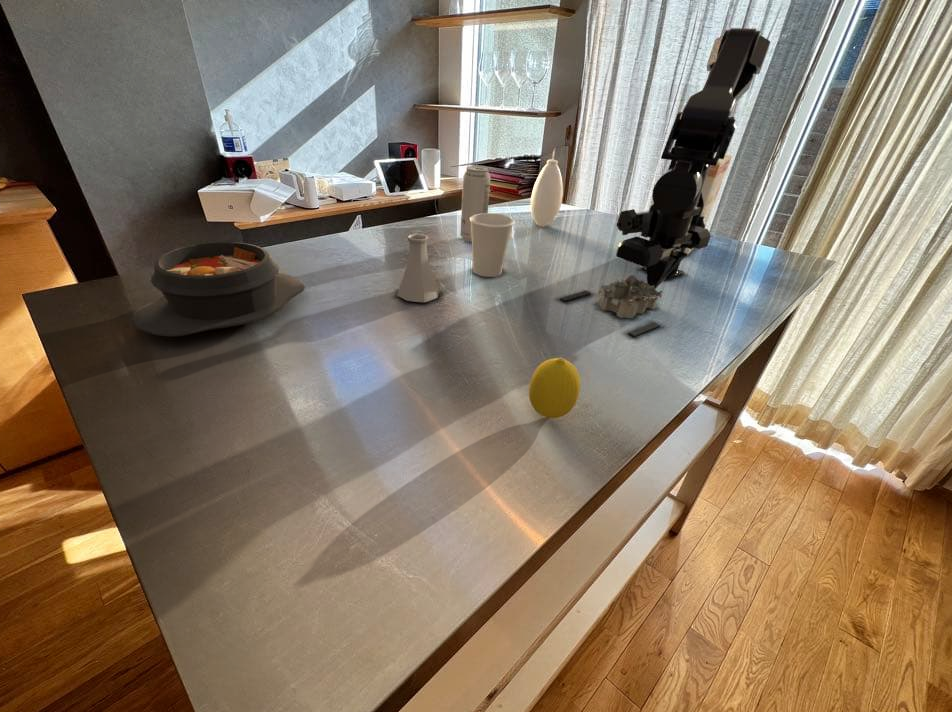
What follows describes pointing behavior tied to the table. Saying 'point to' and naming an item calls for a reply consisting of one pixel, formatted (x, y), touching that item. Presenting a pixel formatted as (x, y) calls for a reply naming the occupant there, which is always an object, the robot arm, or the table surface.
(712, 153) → the robot arm
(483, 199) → the energy drink can
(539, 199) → the air blower bulb
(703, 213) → the coffeecake box
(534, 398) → the lemon
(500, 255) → the dixie cup
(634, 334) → the bay strips
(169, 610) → the table surface
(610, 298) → the tan rough lump
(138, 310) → the casserole
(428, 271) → the flask
